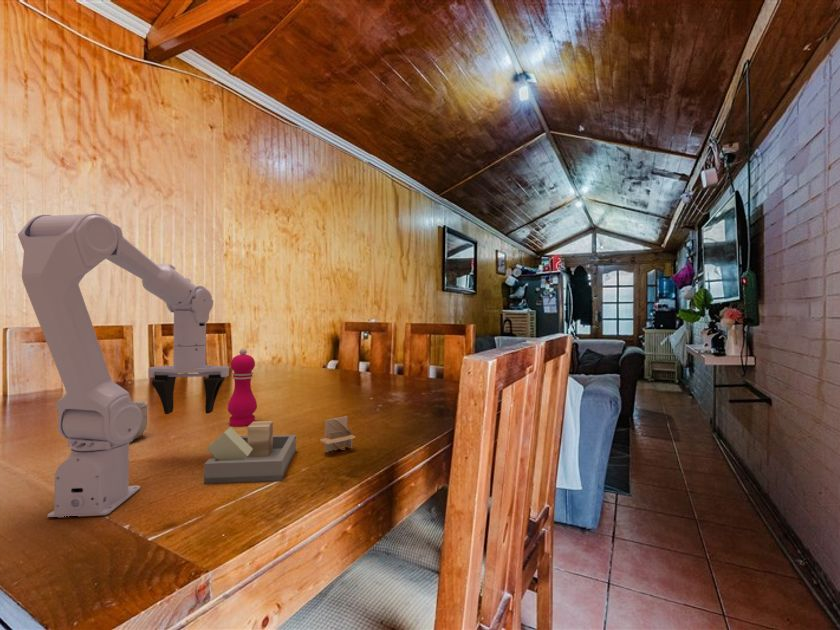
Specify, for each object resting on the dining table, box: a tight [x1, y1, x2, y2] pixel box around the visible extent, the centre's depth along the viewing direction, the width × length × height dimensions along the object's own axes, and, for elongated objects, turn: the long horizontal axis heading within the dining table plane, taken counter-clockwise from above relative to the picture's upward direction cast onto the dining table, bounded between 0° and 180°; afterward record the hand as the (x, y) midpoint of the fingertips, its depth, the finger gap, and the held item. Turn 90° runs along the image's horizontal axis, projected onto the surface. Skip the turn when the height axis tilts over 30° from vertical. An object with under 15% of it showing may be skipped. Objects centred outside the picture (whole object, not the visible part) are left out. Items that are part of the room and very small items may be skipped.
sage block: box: [206, 426, 253, 461], centre depth 77 cm, size 4×4×6 cm
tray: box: [203, 434, 297, 485], centre depth 81 cm, size 16×13×4 cm
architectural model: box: [320, 415, 356, 453], centre depth 89 cm, size 3×7×7 cm, turn 132°
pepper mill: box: [227, 348, 258, 427], centre depth 111 cm, size 7×7×20 cm
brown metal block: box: [247, 420, 274, 457], centre depth 85 cm, size 4×4×6 cm
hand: (189, 412), depth 84 cm, fingers open, 7 cm apart
